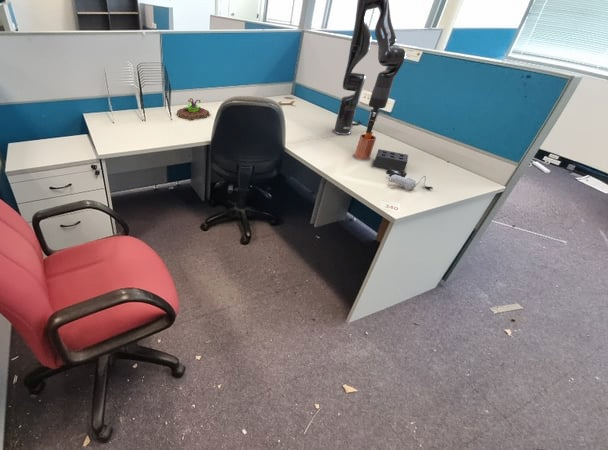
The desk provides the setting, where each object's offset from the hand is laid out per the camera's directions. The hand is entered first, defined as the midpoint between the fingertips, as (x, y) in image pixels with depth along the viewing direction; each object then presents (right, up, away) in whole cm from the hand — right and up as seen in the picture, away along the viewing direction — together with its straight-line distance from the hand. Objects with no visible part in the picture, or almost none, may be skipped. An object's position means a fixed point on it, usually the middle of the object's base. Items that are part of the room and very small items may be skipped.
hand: (369, 130), depth 163 cm
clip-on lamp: (+9, -30, -17) cm, 35 cm away
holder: (+9, -18, -1) cm, 20 cm away
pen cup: (0, -12, +7) cm, 14 cm away
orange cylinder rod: (0, -11, +7) cm, 13 cm away
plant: (-91, +27, +59) cm, 111 cm away
